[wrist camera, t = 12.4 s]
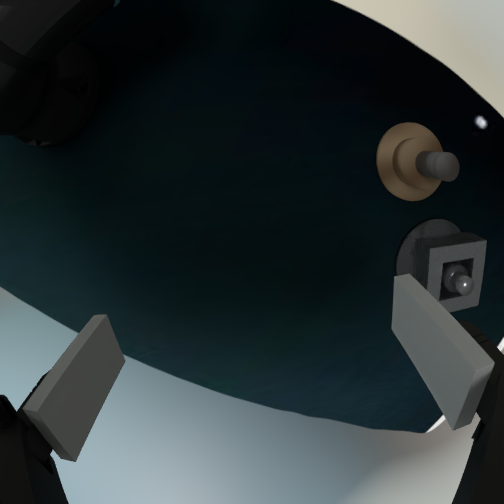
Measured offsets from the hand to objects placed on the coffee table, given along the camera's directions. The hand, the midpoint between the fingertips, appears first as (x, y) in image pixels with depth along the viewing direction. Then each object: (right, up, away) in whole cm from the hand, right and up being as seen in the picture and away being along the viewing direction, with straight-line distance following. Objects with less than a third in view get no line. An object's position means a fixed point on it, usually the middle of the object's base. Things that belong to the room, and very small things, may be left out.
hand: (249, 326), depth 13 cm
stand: (+20, +15, +22) cm, 33 cm away
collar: (+25, +1, +23) cm, 34 cm away
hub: (+25, +2, +26) cm, 36 cm away
